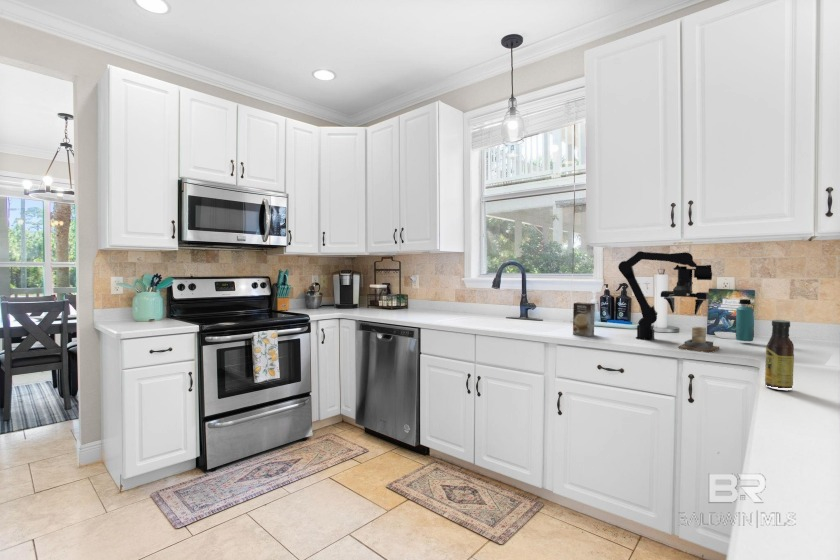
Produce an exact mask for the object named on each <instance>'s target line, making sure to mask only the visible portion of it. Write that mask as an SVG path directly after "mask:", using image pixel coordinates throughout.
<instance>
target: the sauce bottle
mask: <svg viewBox="0 0 840 560" xmlns="http://www.w3.org/2000/svg"><path fill="white" fill-rule="evenodd" d="M771 326H772V327H771V328H772V330H771V332H772V333H771V336H770V338H769V340H768V342H767V344H766V346H765V369H764V370H765V372H764V375H765V376H764V377H765V378H764V382H765V386H766V385H767V386H771V387H778V388H792V389H793V386H794V369H795V368H794V366H795V365H794V364H795V363H794V362H795V353H794V350H795V348H794V347H795V345H794V343H793V341H792V340H791V338H790V328H791V321H789V320H785V319H772V320H771Z"/></svg>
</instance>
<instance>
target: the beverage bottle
mask: <svg viewBox="0 0 840 560" xmlns="http://www.w3.org/2000/svg"><path fill="white" fill-rule="evenodd" d="M751 304H752V303H751V299H746V298H741V299H739V305H751ZM735 311H736V321H735V325H736V326H735V339H736V340H737V341H740V342H754V335H755V334H754V308H753V307H751V306H738V307H736V309H735Z"/></svg>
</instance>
